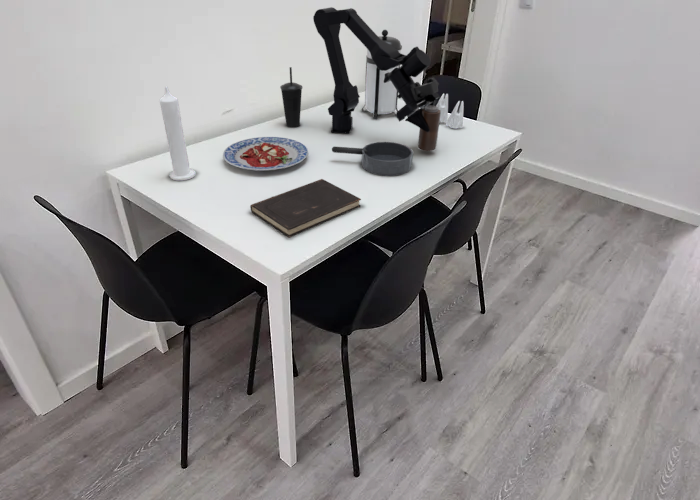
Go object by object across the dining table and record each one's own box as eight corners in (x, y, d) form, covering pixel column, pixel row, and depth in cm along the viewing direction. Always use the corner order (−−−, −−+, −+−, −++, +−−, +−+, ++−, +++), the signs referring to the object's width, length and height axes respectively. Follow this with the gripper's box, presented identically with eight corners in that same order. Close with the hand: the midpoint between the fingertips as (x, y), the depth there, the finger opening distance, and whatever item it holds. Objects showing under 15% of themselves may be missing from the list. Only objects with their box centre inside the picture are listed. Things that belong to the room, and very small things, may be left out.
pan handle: (331, 153, 147) (331, 147, 146) (332, 150, 148) (332, 145, 147) (366, 155, 146) (367, 150, 145) (367, 153, 147) (367, 147, 146)
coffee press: (405, 110, 192) (412, 28, 175) (391, 122, 180) (398, 35, 163) (365, 103, 198) (368, 23, 181) (349, 115, 185) (350, 30, 169)
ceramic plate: (206, 158, 149) (205, 149, 147) (272, 137, 165) (271, 128, 163) (259, 184, 134) (258, 174, 133) (325, 158, 150) (325, 149, 149)
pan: (358, 173, 142) (359, 159, 140) (364, 153, 155) (365, 140, 152) (410, 177, 140) (412, 163, 138) (412, 157, 153) (413, 143, 151)
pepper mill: (417, 150, 153) (422, 109, 146) (417, 143, 158) (422, 103, 151) (435, 151, 153) (441, 111, 145) (435, 144, 157) (441, 105, 150)
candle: (172, 182, 134) (153, 91, 121) (167, 172, 140) (149, 84, 126) (198, 178, 137) (183, 88, 123) (192, 168, 142) (177, 81, 129)
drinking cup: (307, 123, 177) (305, 66, 166) (298, 129, 171) (296, 71, 160) (287, 120, 179) (285, 63, 168) (278, 126, 173) (275, 68, 162)
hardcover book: (360, 206, 125) (361, 198, 124) (289, 237, 112) (288, 229, 111) (320, 185, 135) (320, 178, 134) (250, 211, 122) (249, 203, 121)
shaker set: (429, 122, 181) (432, 92, 174) (435, 119, 183) (439, 90, 177) (457, 130, 174) (461, 99, 168) (463, 127, 177) (467, 97, 170)
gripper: (408, 76, 138) (439, 122, 139) (437, 64, 150) (465, 106, 152) (383, 98, 146) (412, 142, 147) (412, 85, 158) (439, 125, 160)
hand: (433, 128), depth 151 cm, fingers closed on pepper mill, 6 cm apart
